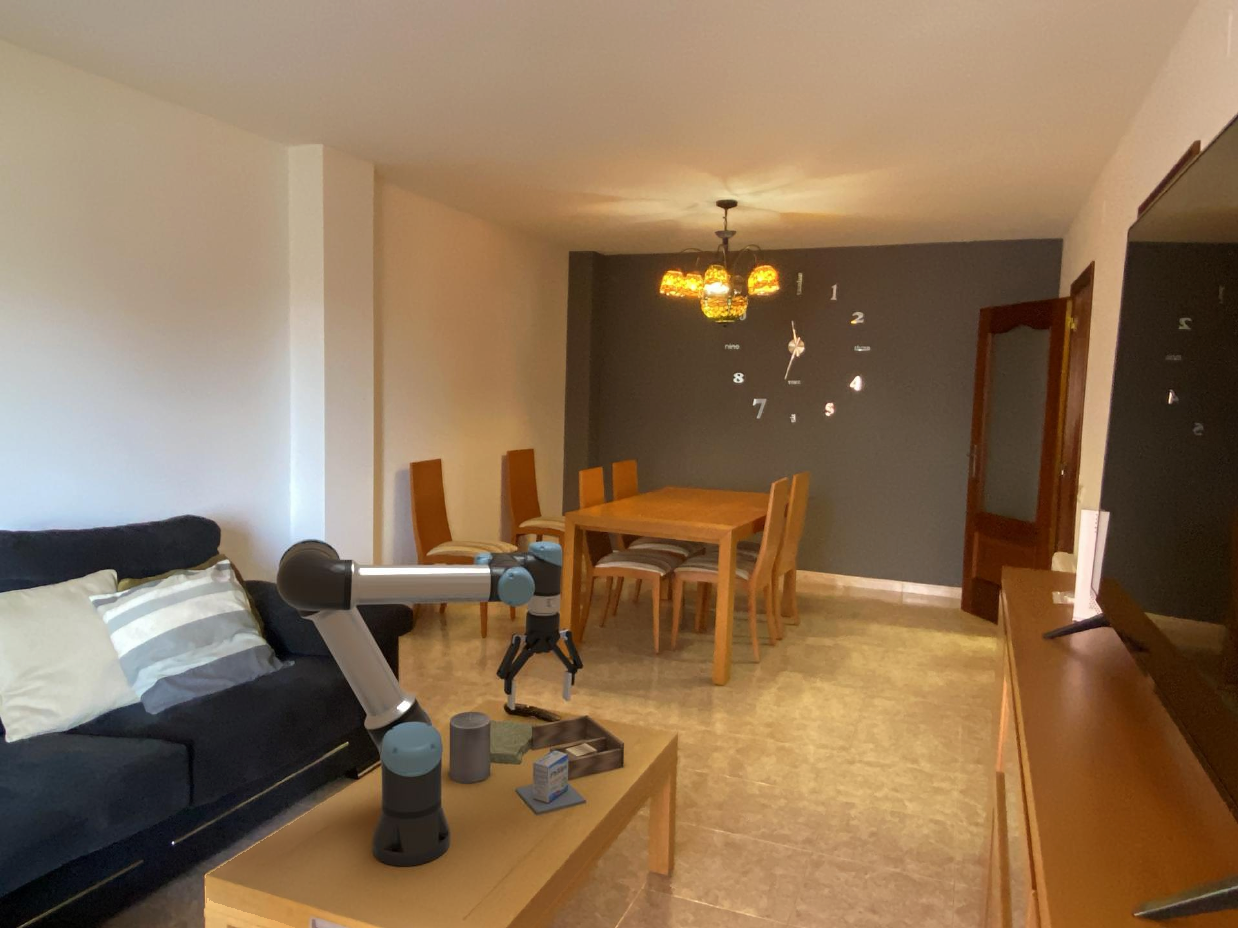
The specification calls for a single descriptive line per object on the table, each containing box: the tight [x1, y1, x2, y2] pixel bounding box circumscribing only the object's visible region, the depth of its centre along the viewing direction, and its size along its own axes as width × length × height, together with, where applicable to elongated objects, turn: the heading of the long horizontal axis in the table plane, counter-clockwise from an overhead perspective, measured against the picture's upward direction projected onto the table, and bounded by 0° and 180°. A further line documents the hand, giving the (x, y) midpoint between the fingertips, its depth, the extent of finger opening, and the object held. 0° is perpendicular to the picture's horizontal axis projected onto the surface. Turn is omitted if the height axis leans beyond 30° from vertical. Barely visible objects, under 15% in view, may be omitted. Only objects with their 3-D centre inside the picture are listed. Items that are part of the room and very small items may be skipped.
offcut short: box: [566, 743, 597, 760], centre depth 205 cm, size 6×5×2 cm
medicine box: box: [532, 750, 569, 803], centre depth 189 cm, size 8×4×9 cm, turn 149°
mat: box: [515, 782, 587, 816], centre depth 190 cm, size 12×12×1 cm
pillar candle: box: [448, 711, 492, 784], centre depth 199 cm, size 10×10×15 cm
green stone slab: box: [490, 719, 538, 765], centre depth 216 cm, size 19×20×4 cm
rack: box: [530, 714, 625, 781], centre depth 210 cm, size 16×20×6 cm
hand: (539, 703), depth 189 cm, fingers open, 13 cm apart
